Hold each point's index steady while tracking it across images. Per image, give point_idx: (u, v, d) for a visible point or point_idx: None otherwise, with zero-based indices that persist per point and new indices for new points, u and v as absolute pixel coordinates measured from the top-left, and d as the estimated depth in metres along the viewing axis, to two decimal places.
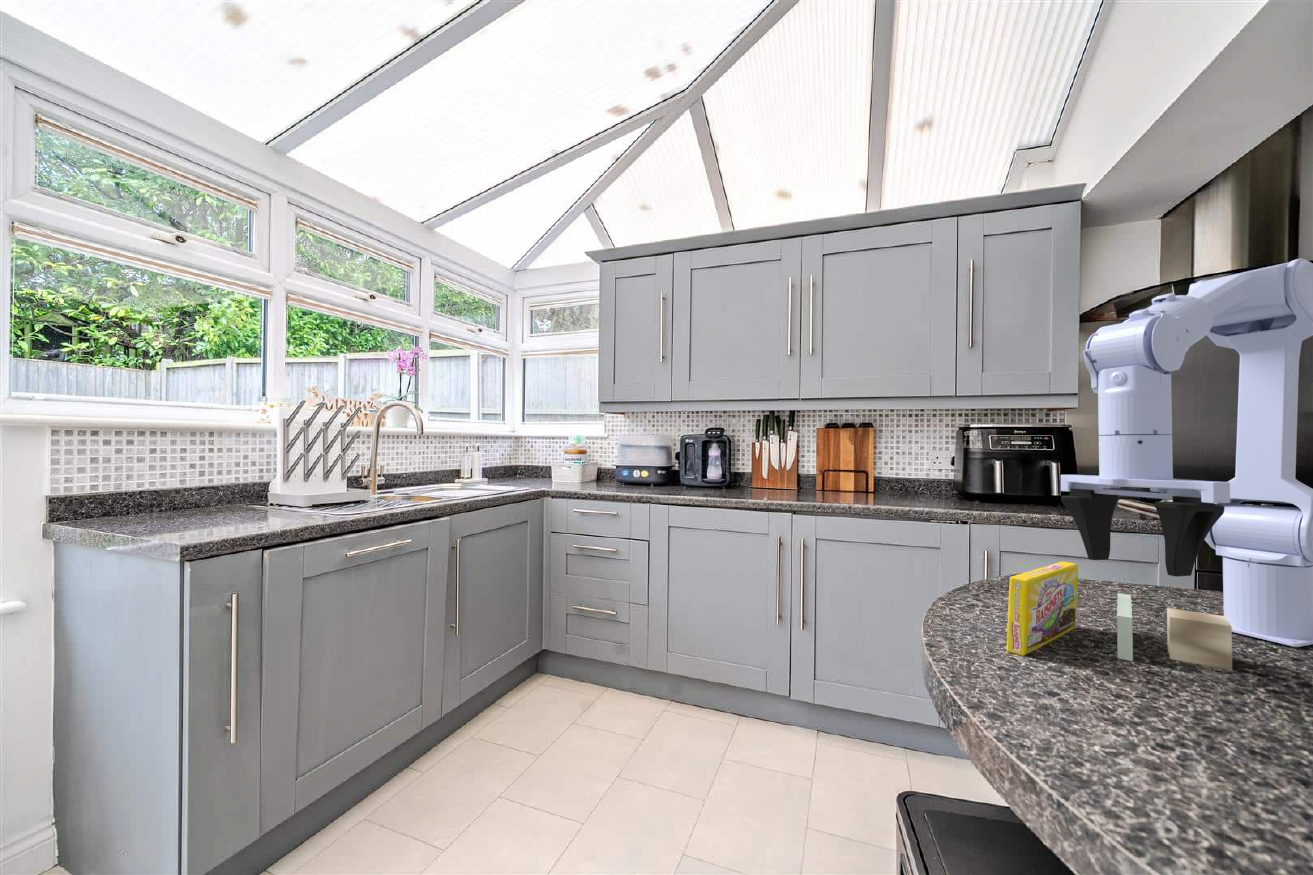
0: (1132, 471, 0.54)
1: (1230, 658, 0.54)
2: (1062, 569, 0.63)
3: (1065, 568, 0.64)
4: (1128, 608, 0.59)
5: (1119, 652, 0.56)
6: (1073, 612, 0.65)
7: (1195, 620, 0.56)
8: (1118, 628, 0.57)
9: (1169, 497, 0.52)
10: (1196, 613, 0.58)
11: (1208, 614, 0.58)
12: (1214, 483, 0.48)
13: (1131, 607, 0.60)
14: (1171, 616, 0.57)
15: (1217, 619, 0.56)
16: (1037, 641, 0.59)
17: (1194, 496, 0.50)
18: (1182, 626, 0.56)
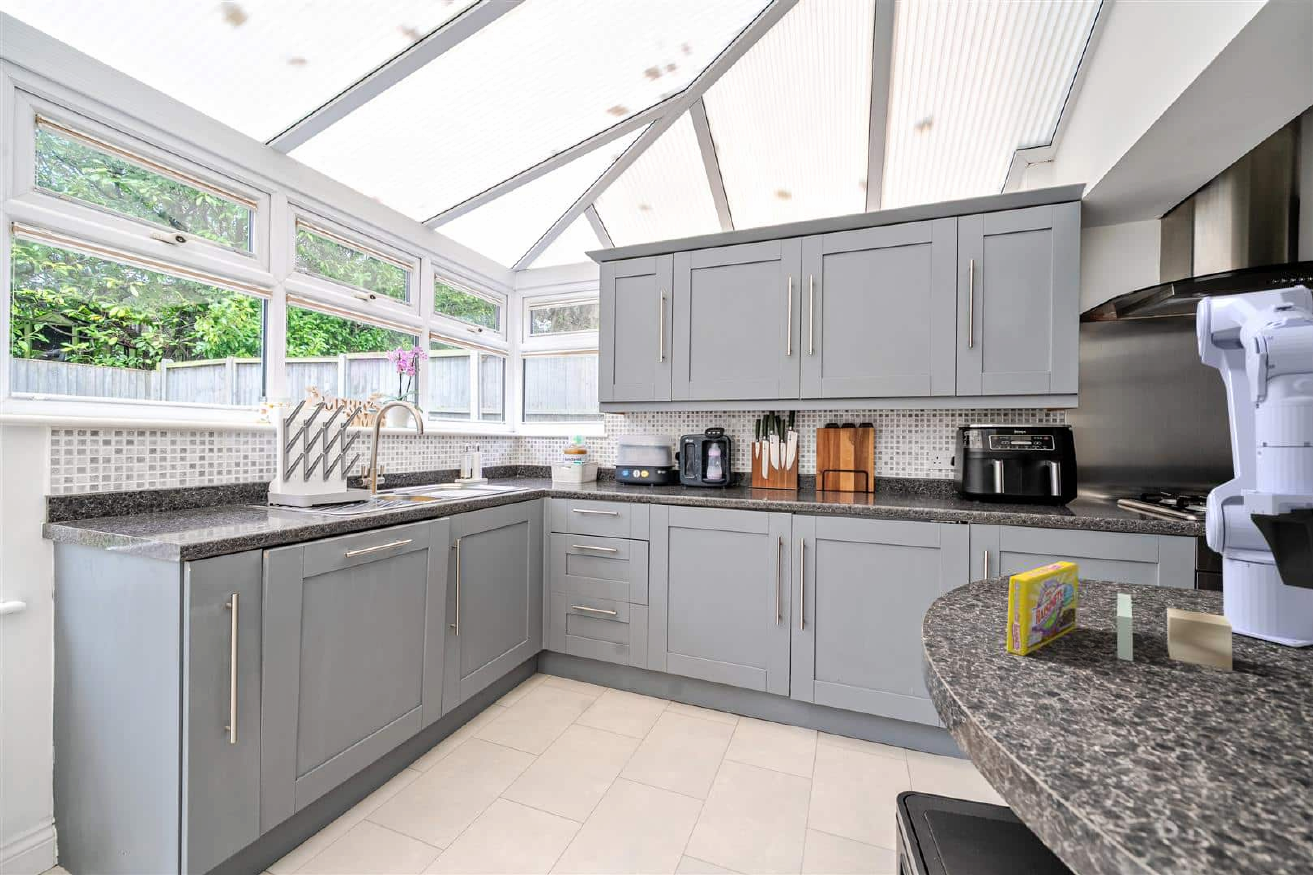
0: (1256, 483, 0.54)
1: (1230, 658, 0.54)
2: (1062, 569, 0.63)
3: (1065, 568, 0.64)
4: (1128, 608, 0.59)
5: (1119, 652, 0.56)
6: (1073, 612, 0.65)
7: (1195, 620, 0.56)
8: (1118, 628, 0.57)
9: None
10: (1196, 613, 0.58)
11: (1208, 614, 0.58)
12: (1244, 494, 0.51)
13: (1131, 607, 0.60)
14: (1171, 616, 0.57)
15: (1217, 619, 0.56)
16: (1037, 641, 0.59)
17: None
18: (1182, 626, 0.56)
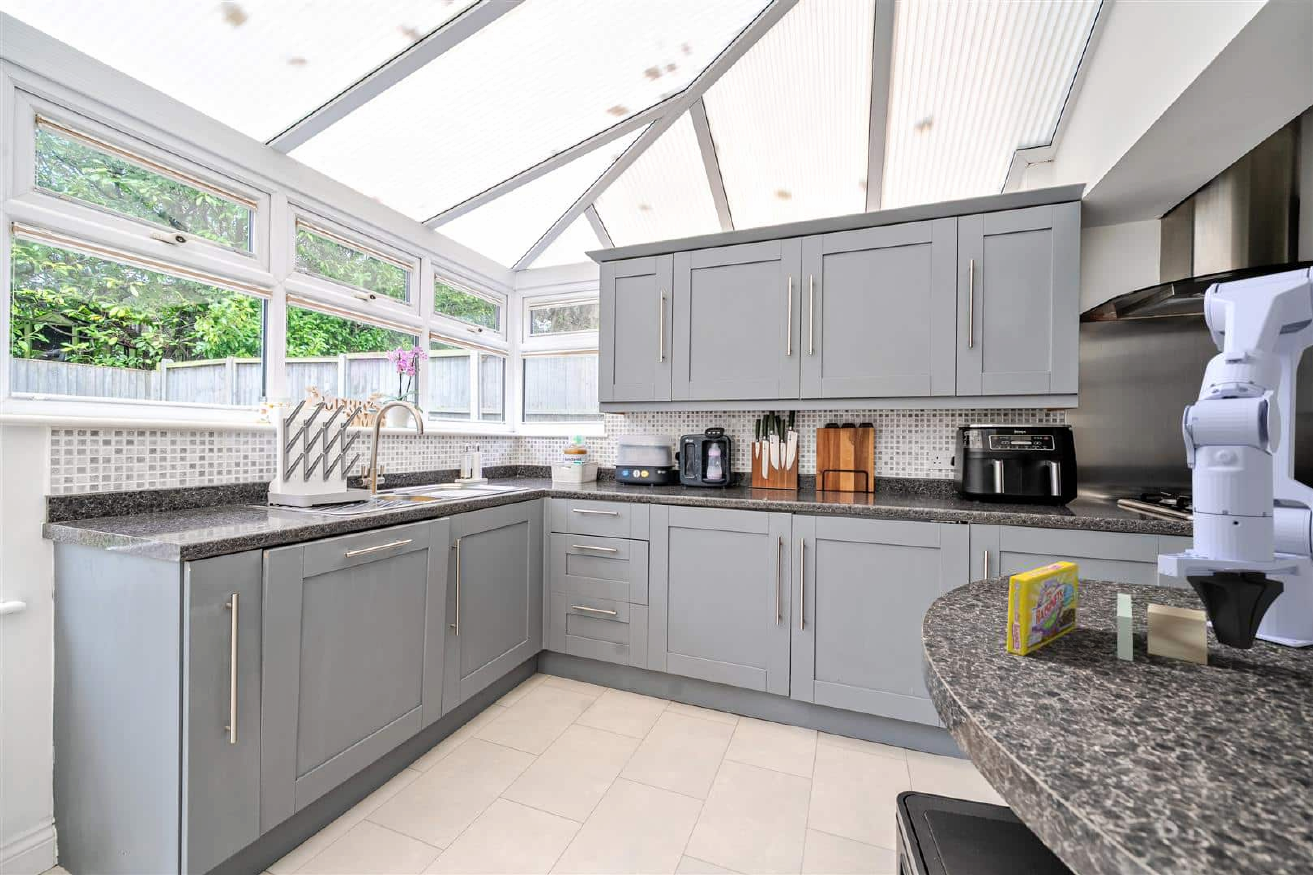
0: None
1: (1205, 652, 0.55)
2: (1062, 569, 0.63)
3: (1065, 568, 0.64)
4: (1128, 608, 0.59)
5: (1119, 652, 0.56)
6: (1073, 612, 0.65)
7: (1172, 615, 0.57)
8: (1118, 628, 0.57)
9: None
10: (1176, 608, 0.59)
11: (1188, 609, 0.59)
12: (1158, 555, 0.56)
13: (1131, 607, 0.60)
14: (1149, 611, 0.58)
15: (1195, 614, 0.57)
16: (1037, 641, 0.59)
17: None
18: (1159, 620, 0.57)
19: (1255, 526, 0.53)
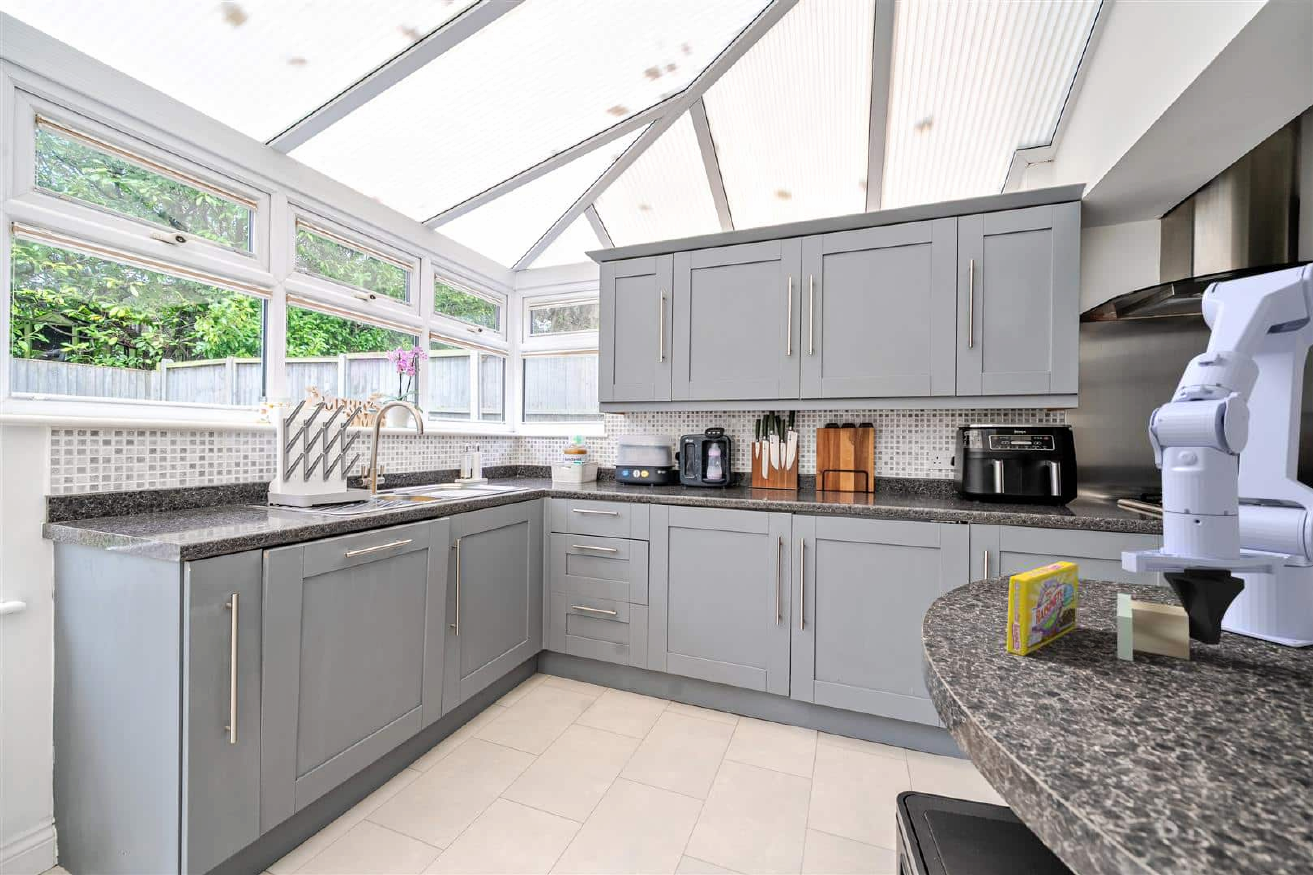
0: None
1: (1187, 647, 0.56)
2: (1062, 569, 0.63)
3: (1065, 568, 0.64)
4: (1128, 608, 0.59)
5: (1119, 652, 0.56)
6: (1073, 612, 0.65)
7: (1155, 611, 0.58)
8: (1118, 628, 0.57)
9: None
10: (1157, 605, 0.61)
11: (1169, 606, 0.60)
12: None
13: (1131, 607, 0.60)
14: (1133, 608, 0.59)
15: (1176, 610, 0.59)
16: (1037, 641, 0.59)
17: None
18: (1143, 616, 0.59)
19: (1216, 524, 0.54)
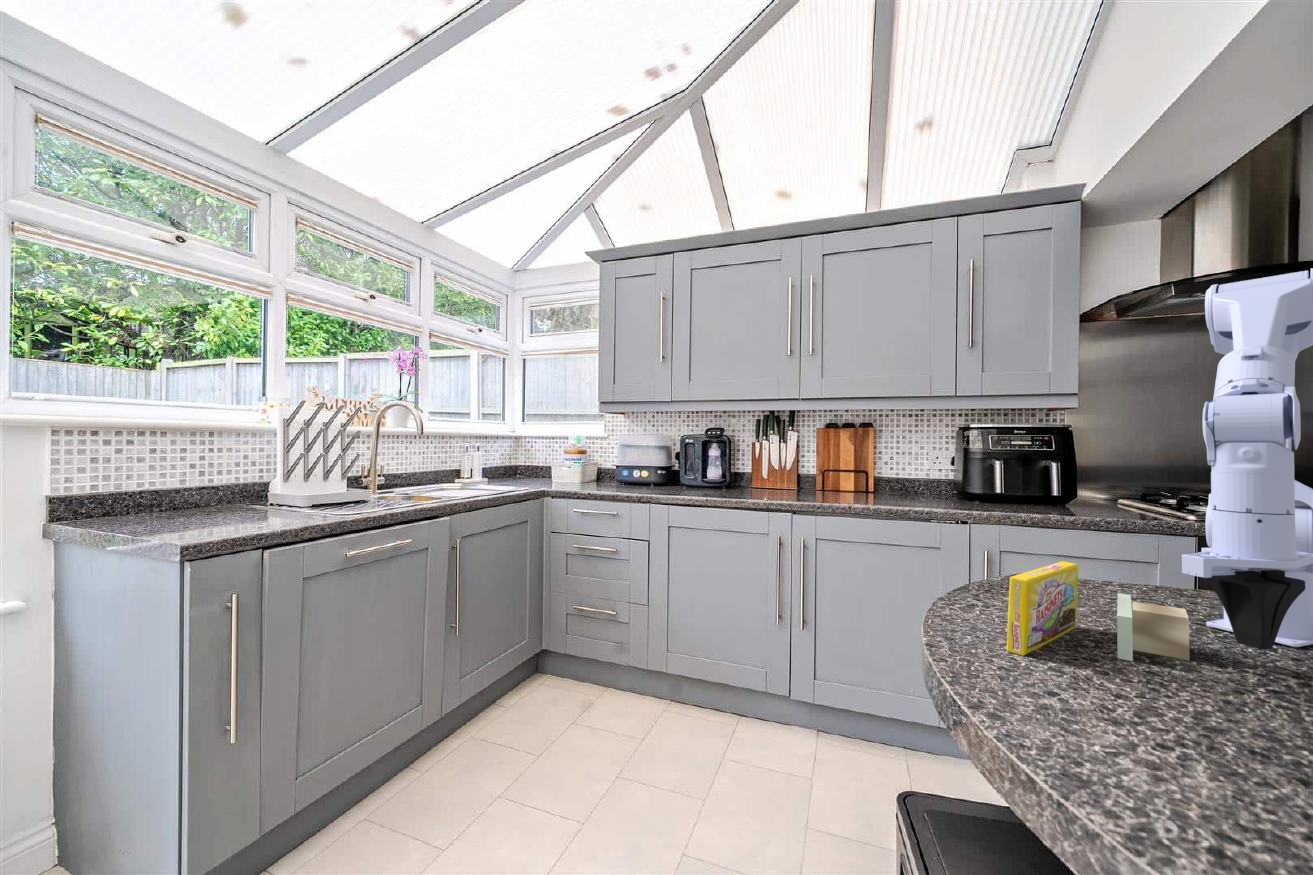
0: (1212, 543, 0.57)
1: (1187, 649, 0.56)
2: (1062, 569, 0.63)
3: (1065, 568, 0.64)
4: (1128, 608, 0.59)
5: (1119, 652, 0.56)
6: (1073, 612, 0.65)
7: (1155, 612, 0.58)
8: (1118, 628, 0.57)
9: None
10: (1158, 606, 0.61)
11: (1169, 607, 0.60)
12: (1182, 555, 0.54)
13: (1131, 607, 0.60)
14: (1133, 609, 0.59)
15: (1177, 612, 0.59)
16: (1037, 641, 0.59)
17: None
18: (1143, 618, 0.59)
19: (1279, 524, 0.52)
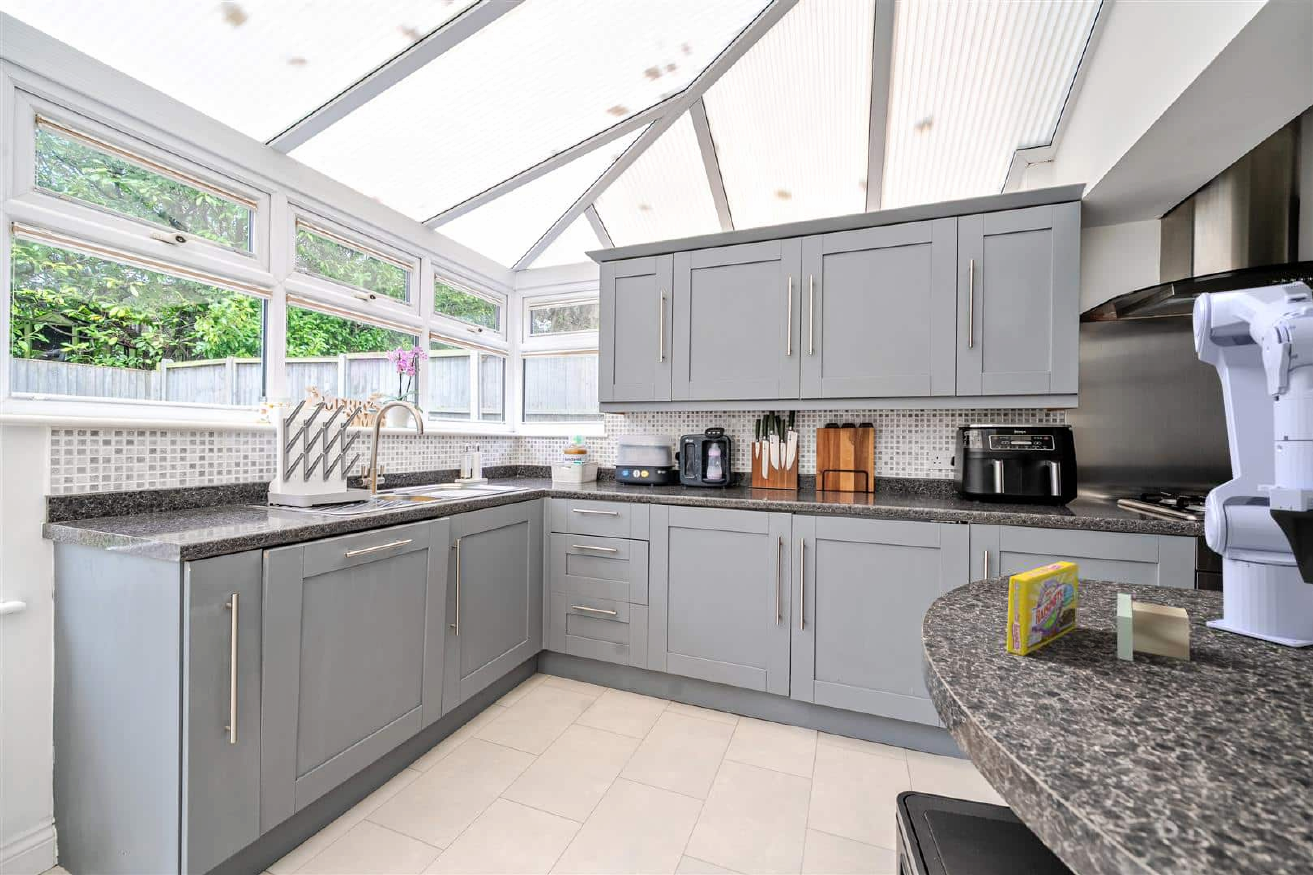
0: (1276, 478, 0.52)
1: (1187, 648, 0.56)
2: (1062, 569, 0.63)
3: (1065, 568, 0.64)
4: (1128, 608, 0.59)
5: (1119, 652, 0.56)
6: (1073, 612, 0.65)
7: (1155, 612, 0.58)
8: (1118, 628, 0.57)
9: None
10: (1158, 606, 0.61)
11: (1169, 607, 0.60)
12: (1270, 489, 0.49)
13: (1131, 607, 0.60)
14: (1133, 609, 0.59)
15: (1177, 612, 0.59)
16: (1037, 641, 0.59)
17: None
18: (1143, 618, 0.59)
19: None
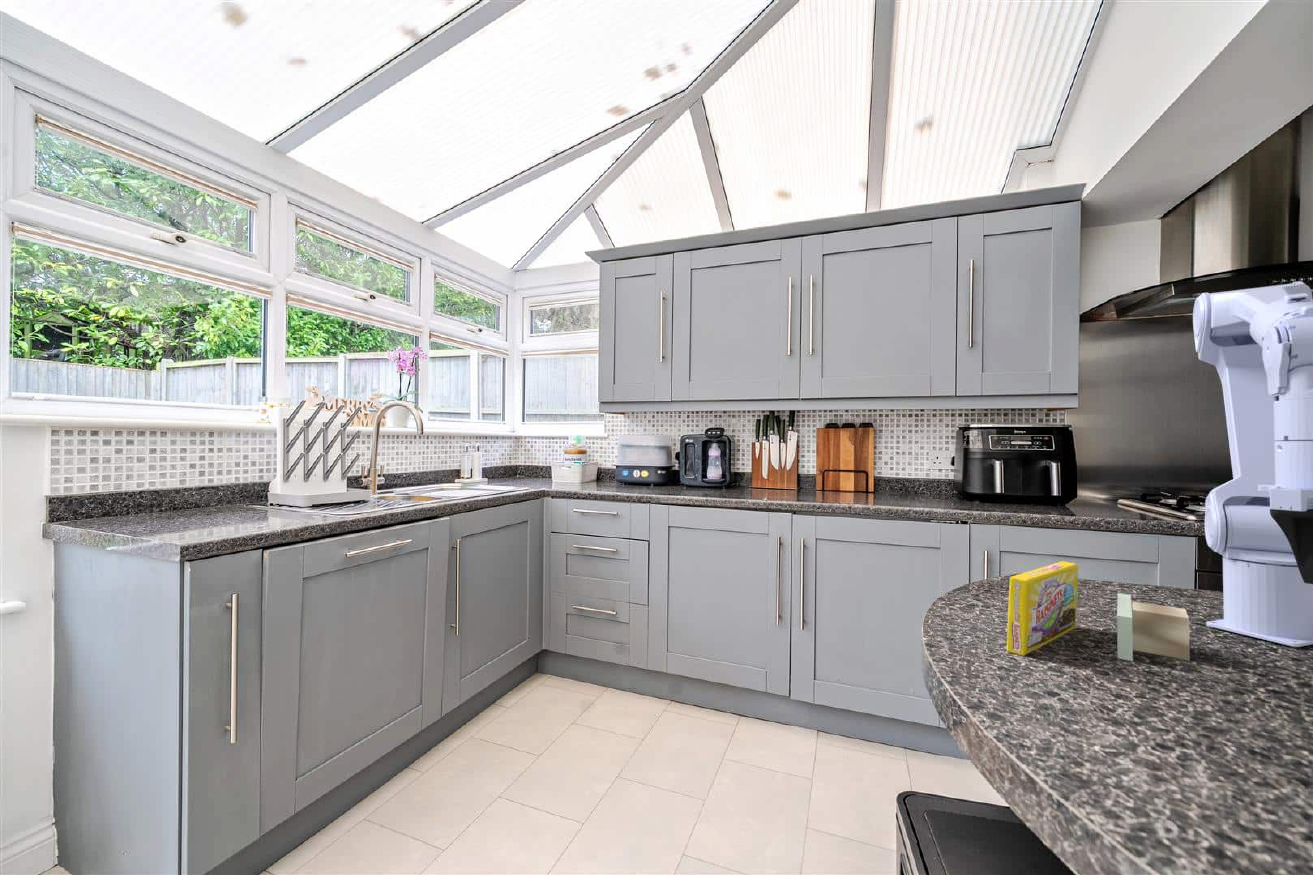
0: (1276, 478, 0.52)
1: (1188, 648, 0.56)
2: (1062, 569, 0.63)
3: (1065, 568, 0.64)
4: (1128, 608, 0.59)
5: (1119, 652, 0.56)
6: (1073, 612, 0.65)
7: (1155, 612, 0.58)
8: (1118, 628, 0.57)
9: None
10: (1158, 606, 0.61)
11: (1169, 607, 0.60)
12: (1270, 489, 0.49)
13: (1131, 607, 0.60)
14: (1133, 609, 0.59)
15: (1177, 612, 0.59)
16: (1037, 641, 0.59)
17: None
18: (1144, 618, 0.59)
19: None
